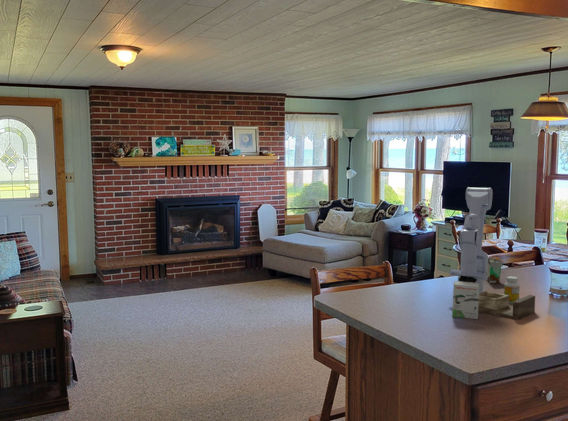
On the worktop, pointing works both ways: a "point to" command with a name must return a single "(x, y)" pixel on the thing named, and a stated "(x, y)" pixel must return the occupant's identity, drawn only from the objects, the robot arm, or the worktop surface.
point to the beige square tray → (493, 300)
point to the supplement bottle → (512, 289)
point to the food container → (494, 270)
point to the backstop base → (514, 308)
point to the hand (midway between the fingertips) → (467, 296)
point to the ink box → (465, 300)
